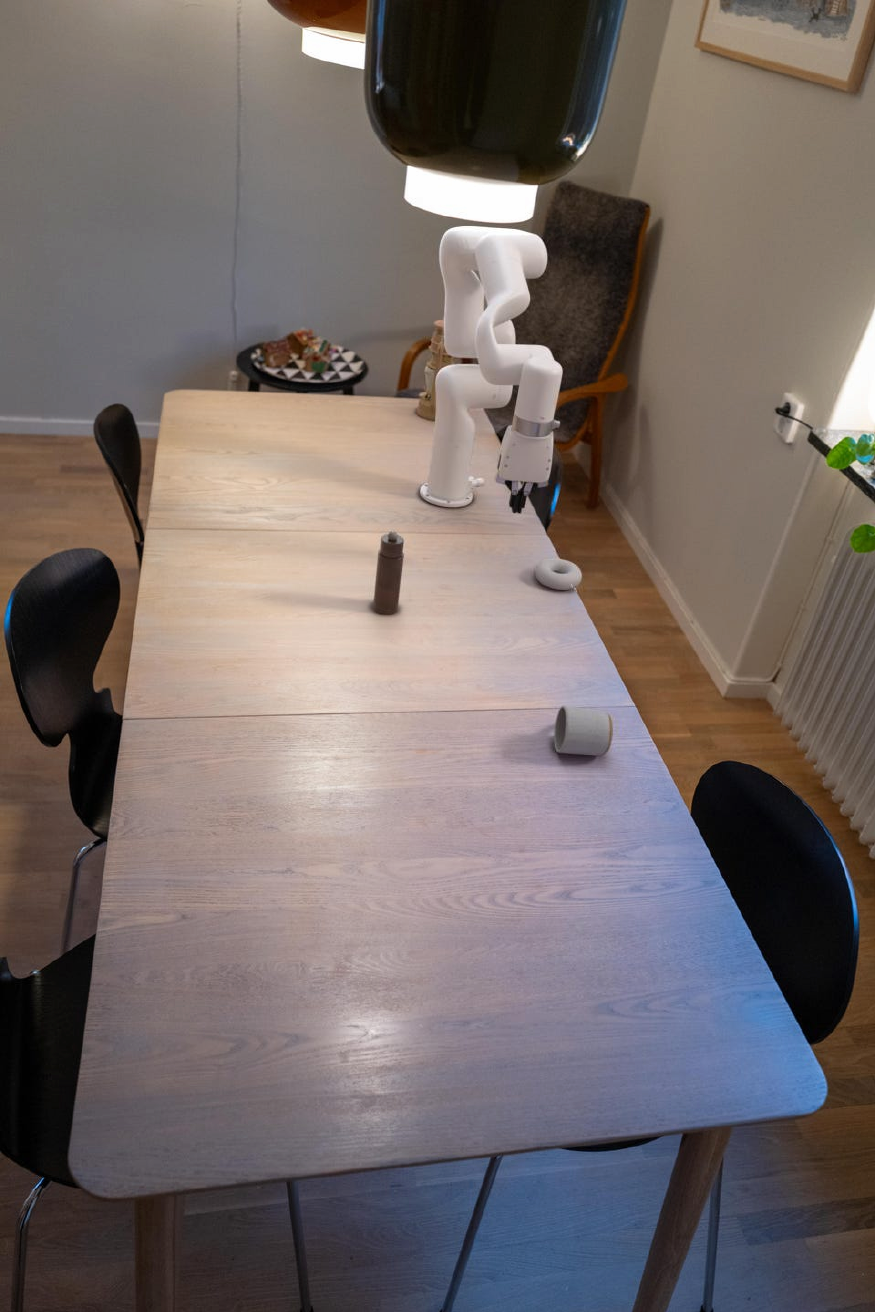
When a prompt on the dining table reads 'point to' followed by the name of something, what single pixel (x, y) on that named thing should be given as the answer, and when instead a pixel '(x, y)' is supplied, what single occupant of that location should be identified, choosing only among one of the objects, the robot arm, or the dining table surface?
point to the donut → (558, 574)
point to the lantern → (434, 372)
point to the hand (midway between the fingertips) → (515, 510)
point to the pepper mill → (388, 574)
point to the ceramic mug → (582, 731)
